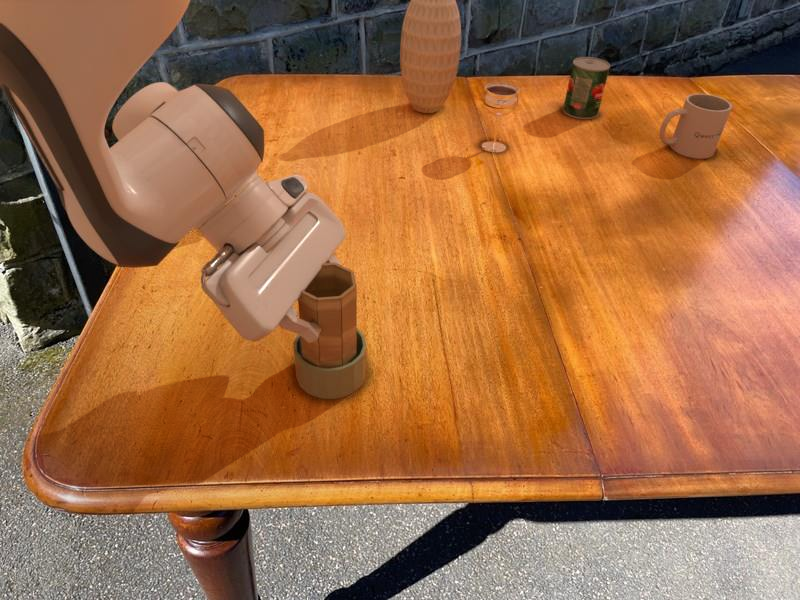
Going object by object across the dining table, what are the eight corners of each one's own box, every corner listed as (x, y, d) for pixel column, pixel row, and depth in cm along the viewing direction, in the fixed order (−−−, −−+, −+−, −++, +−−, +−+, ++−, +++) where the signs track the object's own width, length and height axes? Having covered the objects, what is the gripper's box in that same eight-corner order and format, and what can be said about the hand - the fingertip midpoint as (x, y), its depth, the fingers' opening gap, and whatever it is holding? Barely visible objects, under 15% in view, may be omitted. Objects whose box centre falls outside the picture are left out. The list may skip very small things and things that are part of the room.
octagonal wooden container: (332, 379, 73) (330, 307, 66) (291, 355, 76) (284, 283, 69) (366, 348, 77) (367, 277, 70) (325, 327, 80) (322, 256, 73)
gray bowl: (335, 410, 75) (334, 381, 71) (281, 377, 78) (278, 348, 75) (379, 368, 80) (380, 339, 77) (326, 339, 84) (325, 310, 80)
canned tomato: (601, 120, 140) (613, 71, 133) (565, 118, 140) (576, 68, 133) (594, 105, 147) (606, 57, 139) (560, 103, 147) (570, 55, 139)
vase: (428, 125, 135) (439, -19, 117) (386, 106, 141) (389, -33, 123) (466, 109, 142) (481, -29, 124) (424, 92, 149) (432, -42, 130)
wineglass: (495, 157, 125) (504, 98, 117) (470, 145, 129) (477, 87, 121) (517, 148, 128) (527, 90, 121) (492, 136, 132) (500, 79, 124)
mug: (707, 141, 134) (725, 95, 128) (718, 160, 128) (737, 113, 121) (648, 136, 135) (663, 90, 129) (657, 155, 129) (672, 107, 122)
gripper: (208, 264, 59) (308, 366, 63) (306, 167, 74) (383, 255, 78) (175, 289, 63) (272, 385, 67) (275, 193, 78) (349, 275, 82)
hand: (332, 314), depth 72 cm, fingers closed on octagonal wooden container, 7 cm apart
